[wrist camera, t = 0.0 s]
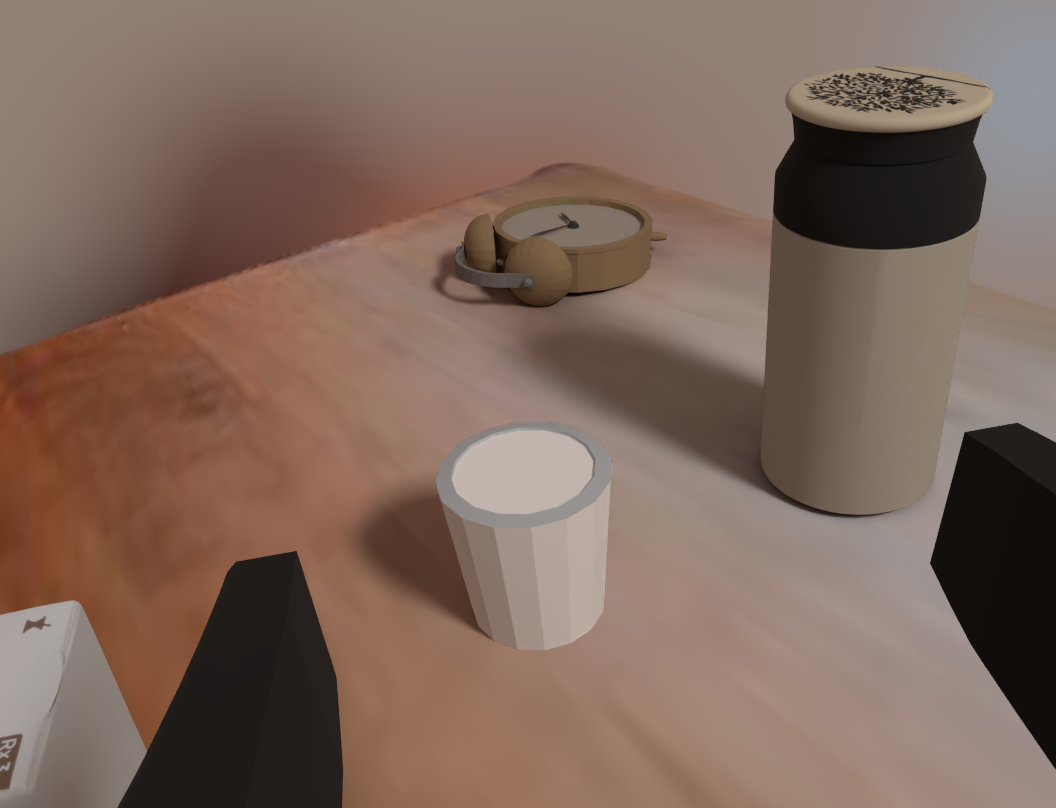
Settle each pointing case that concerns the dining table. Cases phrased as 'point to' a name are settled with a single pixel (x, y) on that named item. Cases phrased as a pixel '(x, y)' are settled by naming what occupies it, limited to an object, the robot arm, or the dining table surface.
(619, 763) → the dining table surface
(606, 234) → the alarm clock
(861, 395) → the travel mug
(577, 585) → the white tapered cup
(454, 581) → the dining table surface
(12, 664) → the skincare box
